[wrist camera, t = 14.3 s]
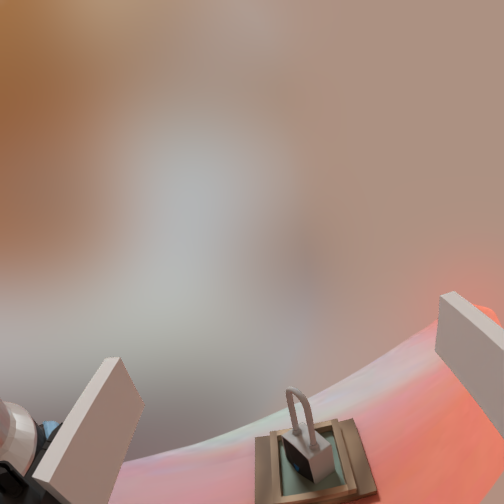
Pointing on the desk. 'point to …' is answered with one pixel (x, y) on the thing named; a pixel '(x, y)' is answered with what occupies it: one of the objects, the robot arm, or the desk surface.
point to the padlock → (306, 443)
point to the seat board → (300, 488)
